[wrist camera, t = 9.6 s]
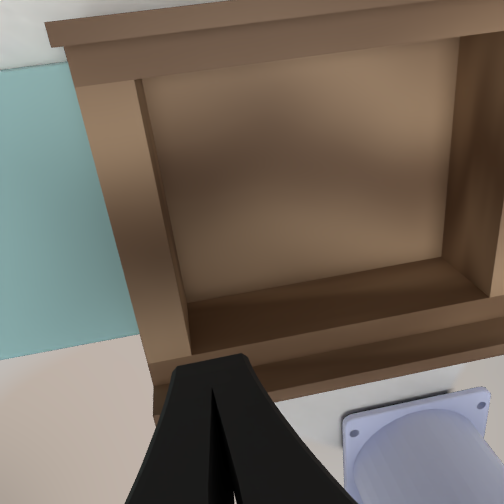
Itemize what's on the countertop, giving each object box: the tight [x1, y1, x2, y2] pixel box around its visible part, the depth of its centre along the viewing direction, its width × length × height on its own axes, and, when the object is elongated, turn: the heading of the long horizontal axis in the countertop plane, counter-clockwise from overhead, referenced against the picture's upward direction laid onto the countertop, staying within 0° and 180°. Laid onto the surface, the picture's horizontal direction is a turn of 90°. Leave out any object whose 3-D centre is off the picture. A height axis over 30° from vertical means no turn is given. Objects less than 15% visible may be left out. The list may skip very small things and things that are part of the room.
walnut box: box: [44, 0, 504, 426], centre depth 16 cm, size 12×14×5 cm
